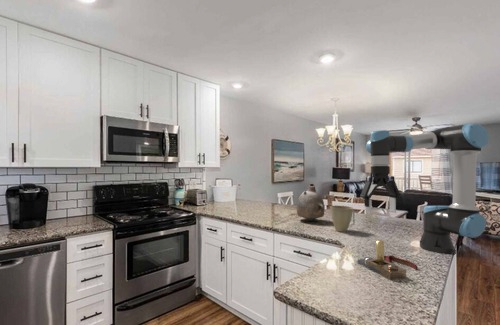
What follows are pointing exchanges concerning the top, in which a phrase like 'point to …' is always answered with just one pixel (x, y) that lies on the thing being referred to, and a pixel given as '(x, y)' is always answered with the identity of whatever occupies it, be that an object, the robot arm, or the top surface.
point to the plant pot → (341, 217)
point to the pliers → (399, 261)
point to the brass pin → (379, 252)
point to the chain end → (363, 262)
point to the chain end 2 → (388, 269)
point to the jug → (310, 204)
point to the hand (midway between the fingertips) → (380, 213)
